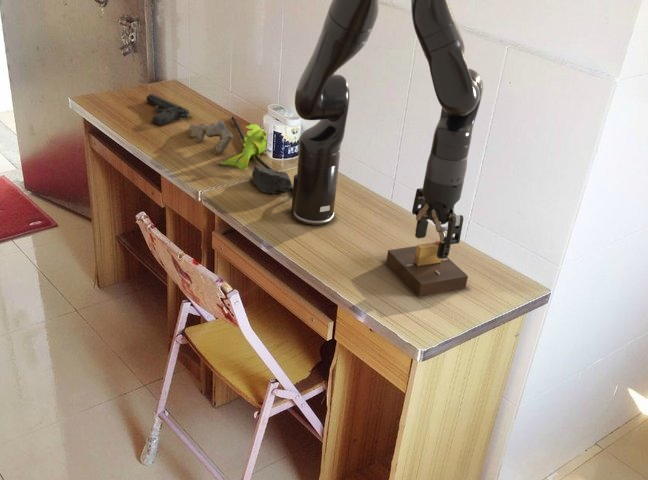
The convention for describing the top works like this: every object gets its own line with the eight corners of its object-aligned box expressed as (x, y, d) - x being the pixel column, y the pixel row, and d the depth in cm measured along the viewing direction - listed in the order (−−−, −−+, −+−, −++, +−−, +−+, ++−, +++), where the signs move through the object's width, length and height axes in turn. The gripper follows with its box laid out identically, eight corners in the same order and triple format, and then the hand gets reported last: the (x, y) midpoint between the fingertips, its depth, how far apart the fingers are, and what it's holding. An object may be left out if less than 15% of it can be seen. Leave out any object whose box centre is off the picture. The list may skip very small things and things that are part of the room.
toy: (280, 145, 215) (284, 124, 209) (242, 187, 205) (245, 166, 198) (255, 132, 217) (258, 111, 211) (217, 173, 206) (219, 152, 200)
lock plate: (385, 262, 166) (387, 249, 164) (430, 255, 170) (432, 242, 168) (418, 296, 155) (421, 283, 154) (465, 288, 159) (468, 275, 157)
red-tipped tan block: (417, 266, 159) (420, 247, 157) (413, 262, 161) (417, 243, 158) (440, 262, 161) (444, 244, 159) (436, 258, 162) (440, 240, 160)
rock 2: (250, 180, 199) (246, 187, 190) (256, 158, 198) (253, 164, 188) (289, 192, 200) (287, 200, 190) (296, 171, 198) (294, 177, 188)
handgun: (123, 109, 237) (155, 100, 243) (160, 127, 225) (193, 117, 232) (122, 100, 235) (154, 91, 242) (160, 118, 223) (193, 108, 230)
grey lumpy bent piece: (182, 131, 222) (182, 107, 218) (198, 128, 225) (198, 104, 221) (219, 156, 209) (220, 131, 205) (235, 153, 211) (236, 128, 207)
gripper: (409, 162, 154) (397, 233, 164) (448, 193, 144) (433, 267, 153) (441, 158, 157) (428, 228, 166) (482, 188, 146) (465, 261, 155)
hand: (430, 247), depth 159 cm, fingers open, 8 cm apart
